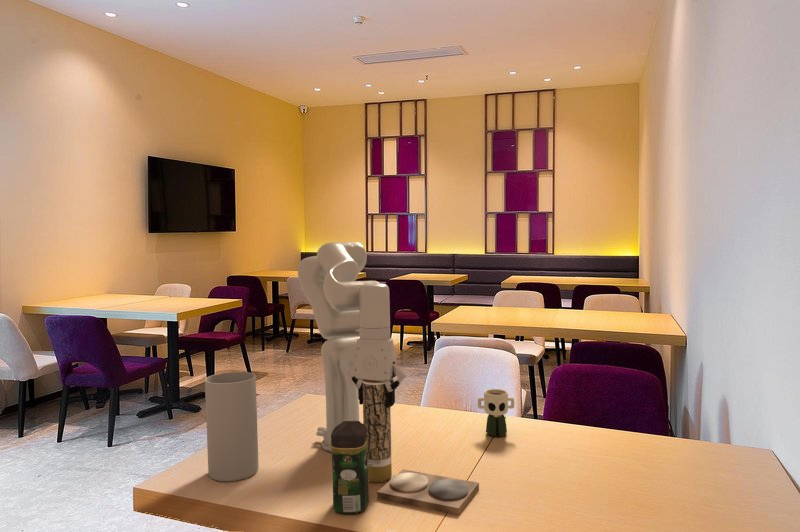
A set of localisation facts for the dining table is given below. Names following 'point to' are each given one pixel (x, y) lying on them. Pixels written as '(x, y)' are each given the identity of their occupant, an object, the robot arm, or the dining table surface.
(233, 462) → the cylinder vase
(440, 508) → the board
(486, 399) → the character mug
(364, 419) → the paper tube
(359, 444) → the coffee jar
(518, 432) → the dining table surface
